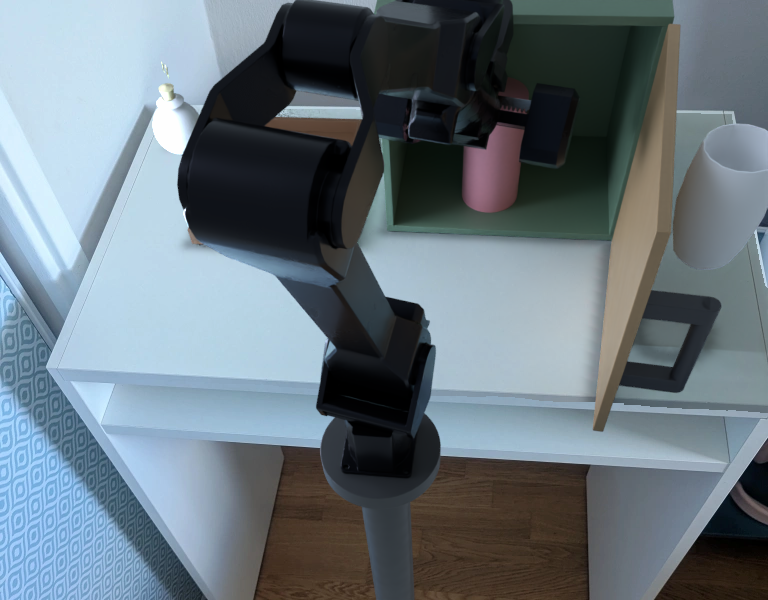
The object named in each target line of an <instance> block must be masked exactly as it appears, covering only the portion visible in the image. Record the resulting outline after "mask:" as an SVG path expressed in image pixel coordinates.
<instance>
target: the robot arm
mask: <svg viewBox="0 0 768 600" xmlns="http://www.w3.org/2000/svg"><path fill="white" fill-rule="evenodd" d="M513 34H514V30H513V4H512V2H511V1H510V0H395V1H393V2H391V3H388V4H386V5H384V6H381V7H380V8H379V9H378V10H377V11H376V15H375V14H374V11H372V9H371V7H368V6H362V5H355V4H354V5H353V4H347V3H339V2H332V1H325V0H294V1H293V2H285V3H283V4H281V6H280V7H279V9H278V11H277V12H276V14H275V16H274V19H273V21H272V23H271V25H270V28H269V31H268V34H267V35H266V38H265V40H264V42H263V43H262V44H261V45H260V46H259V47H257V48H256V49H255V50H254V51H252V52H251V53H250V54H249V55H248V56H246V57H245V58H244V59H243V60H242V61H240V62H239V63H238V64H237V65H235V67H234V68H233V69H231V70H230V71H229V72H227V74H225V75H224V76H223V77H222V78H220V80H218V81H217V82H216V83H215V84H213V86H212V87H211V88H210V90H209V92H208V93H207V96H206V98H205V100H204V103H203V106H202V108H201V110H200V113H199V117H198V119H197V122H196V124H195V126H194V129H193V131H192V133H191V136H190V138H189V140H188V143H187V145H186V147H185V150H184V152H183V154H181V158H180V161H179V165H178V169H177V170H178V171H177V181H176V186H177V193H178V200H179V203H180V205H181V207H182V210H183V212H182V213H183V216H184V219H185V222H186V225H187V227H189V229H190V230H191V232H192V233H193V235H194V236H195V238H196V239H197V240H198V241H200V242H201V243H203V244H202V245H205V246H206V247H207V248H210V249H212V250H213V251H215V252H217V253H219V254H221V255H222V256H224V257H227V258H229V259H231V260H234V261H236V262H239V263H242V264H244V265H246V266H250V267H252V268H255V269H258V270H261V271H262V272H266V273H268V274H271V275H273V276H274V277H275V278H276V279H277V280H278V281H279V282H280V284H281V285H282V286H283V287H284V288H285V289H286V290H287V292H288V293H289V295H291V297H292V298H293V299H294V301H296V302H297V304H298V305H299V306H300V308H302V310H303V311H304V312H305V313H306V314H307V315H308V317H309V318H310V320H312V321H313V323H314V324H315V325H316V326H317V328H318V329H319V330H320V331H321V332H322V333H323V334H324V336H325V337H326V339H325V340H324V346H323V347H324V348H323V354H322V362H321V372H320V380H319V381H320V382H319V385H318V386H319V387H318V393H317V398H316V403H315V410H317V412H318V413H319V414H320V415H321V416H324V417H331V418H339V419H343V420H345V425H346V432H347V433H346V439H345V444H344V450H343V455H342V461H341V466H340V467H341V471H342V473H344V474H354V475H367V476H380V477H392V478H405V479H407V478H410V477H411V476H412V470H413V462H414V455H415V447H416V439H417V431H418V428H419V425H420V422H421V420H422V417H423V415H424V413H426V409H427V407H428V405H429V402H430V400H431V396H432V388H433V381H434V372H435V365H436V364H435V363H436V358H437V357H436V356H437V347H436V345H435V344H432V335H431V332H430V331H429V329H428V328H429V326H430V323H431V321H430V320H429V319H427V317H426V313H425V309H424V308H423V307H422V305H420V304H419V303H417V302H412V301H408V300H403V299H398V298H394V297H389V296H386V295H385V293H384V291H383V289H382V287H381V285H380V284H379V281H378V279H377V278H376V276H375V274H374V272H373V270H372V267H371V266H370V264H369V262H368V261H367V258H366V257H365V254H364V253H363V250H362V248H361V246H360V245H359V243H358V242H359V240H360V238H361V236H362V232H363V231H364V228H365V225H366V222H367V219H368V216H369V215H370V212H371V210H372V209H371V208H372V205H373V203H374V201H375V197H376V194H377V192H378V190H379V186H380V183H381V181H382V178H383V177H384V160H383V155H382V144H381V140H382V139H388V140H393V141H399V142H405V143H411V144H413V143H416V142H419V141H421V140H424V141H430V142H436V143H442V144H448V145H450V144H455V145H461V146H467V147H473V148H479V149H484V150H486V148H487V144H488V139H489V135H490V134H491V133H492V132H493V130H494V129H495V127H496V125H498V126H504V127H510V128H516V129H522V130H524V134H523V138H522V143H521V148H520V156H519V162H520V163H526V164H531V165H537V166H543V167H549V168H554V169H558V168H559V167H561V166H562V165H564V164H565V161H566V157H567V153H568V149H569V145H570V141H571V137H572V133H573V129H574V125H575V121H576V117H577V113H578V109H579V105H580V97H579V95H578V93H577V92H576V90H575V89H574V88H567V87H561V86H554V85H547V84H541V83H537V84H536V86H535V89H534V91H533V95H532V100H525V99H518V98H512V97H506V96H499V95H498V94H499V92H505V88H506V83H507V79H508V76H507V73H506V71H505V69H506V64H507V53H508V50H509V46H510V43H511V40H512V38H513ZM297 92H302V93H307V94H312V95H313V94H314V95H320V96H326V97H331V98H336V99H337V98H338V99H345V100H351V101H356V102H357V101H358V105H359V109H360V114H361V119H362V121H361V123H360V126H359V129H358V131H357V134H356V137H355V139H354V142H353V145H352V146H351V144H350V143H349V142H348V141H345V140H341V139H335V138H329V137H323V136H318V135H312V134H306V133H301V132H295V131H289V130H284V129H278V128H272V127H266V126H265V125H266V124H267V123H269V122H270V121H271V120H272V119H273V118H274V117H278V115H280V114H281V113H282V112H283V110H285V109H287V107H289V106H290V105H291V103H292V102H293V101H294V99H295V96H296V95H297V94H296V93H297ZM502 106H503V109H504V110H500V109H501V108H502ZM506 107H508V111H505V109H506ZM511 107H512V111H514V110H515V108H516V111H517V112H518V111H519V109H521V113H517V112H511V111H509V110H510V109H511ZM524 109H525V113H527V112H528V110H529V112H528V114H523V113H522V112H523V111H524ZM381 138H382V139H381ZM380 139H381V140H380ZM345 467H348V469H344V468H345ZM406 471H407V472H409V473H408V474H405V473H404V472H406Z"/></svg>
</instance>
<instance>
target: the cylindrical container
mask: <svg viewBox="0 0 768 600" xmlns="http://www.w3.org/2000/svg"><path fill="white" fill-rule="evenodd" d="M498 95H499V96H506V97H512V98H518V99H525V100H528V99H529V92H528V89H527V87H526V86H525V85H524V84H523V83H521V82H520V81H518V80H516V79H514V78H510V77H508V79H507V83H506V88H505V92H499V94H498ZM500 110H504V109H503V106H502V108H501V109H500ZM505 111H508V107H506V109H505ZM509 111H511V112H517V111H516V108H515V110H514V111H512V107H511V109H510V110H509ZM517 113H521V109H519V111H518V112H517ZM522 113H523V114H527V113H525V109H524V111H523V112H522ZM523 134H524V130H522V129H516V128H510V127H504V126H498V125H496V127H495V129H494V130H493V132H492V133H491V134H490V135H489V139H488V144H487V148H486V150H484V149H479V148H473V147H467V146H464V153H463V177H462V198H463V200H464V202H465V203H466V204H467V205H468V206H469V207H470V208H472V209H474V210H477V211H480V212H486V213H493V212H499V211H502V210H505V209H507V208H509V207H510V206H511V205H512V204H513V203H514V202H515V200H516V198H517V193H518V184H519V176H520V167H521V163H520V162H519V156H520V148H521V143H522V138H523Z"/></svg>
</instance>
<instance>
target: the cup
mask: <svg viewBox="0 0 768 600" xmlns="http://www.w3.org/2000/svg"><path fill="white" fill-rule="evenodd" d="M767 210H768V130H767V129H766V128H764V127H760V126H757V125H753V124H751V123H750V124H748V123H735V122H734V123H729V124H723V125H719V126H718V127H715V128H713V129H712V130H710V131H708V132H707V134H706V135H705V136H704V138H703V139H702V141H701V143H700V145H699V147H698V148H697V151H696V152H695V154H694V155H693V159H691V162H690V164H689V166H688V167H687V170H686V172H685V175H684V177H683V180H682V183H681V185H680V187H679V190H678V193H677V195H676V198H675V205H674V212H673V217H672V251H673V253H674V254H675V256H676V258H677V259H678V260H680V262H682V263H684V264H685V265H687V266H688V267H689V268H690V269H694V270H698V271H704V270H707V271H708V270H709V271H711V270H715V269H721V268H723V267H724V266H726V265H728V264H730V263H731V261H733V259H735V258H736V257H737V255H738V254H739V253H740V252H741V251H742V250H743V249H745V246H746V245H747V243H748V242H749V240H751V238H752V236H753V235H754V234H755V232H756V231H757V229H758V227H759V226H760V224H761V222H762V221H763V219H764V218H765V215H766V213H767Z"/></svg>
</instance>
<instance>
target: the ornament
mask: <svg viewBox="0 0 768 600" xmlns="http://www.w3.org/2000/svg"><path fill="white" fill-rule="evenodd" d="M160 62H161V66H162V71H163V73H165V74H166V75H167V78H170V76H169V71H168V68H169V67H168V66H167V65H166V64H165V63H163V62H162V61H160ZM157 89H158V91H159V93H160V95H161V96H159V98H157V100H156V106H157V109H156V110H155V112H154V114H153V117H152V129H153V133H154V137H155V139H156V140H157V142H158V143H159V144H160V146H161V147H163V149H164V150H167V151H168V152H169V153H172V154H174V155H182V154H183V152H184V150H185V147H186V145H187V143H188V140H189V138H190V136H191V133H192V131H193V129H194V126H195V124H196V122H197V119H198V117H199V115H200V113H199V112H198V110H197V109H196V108H195V107H194V106H193V105H191V104H190V103H188V102H186V101H185V98H184V96H183V95H182V94H181V93H176V92H175V87H174V85H173V83H171V82H165V83H161V84H160V85H159V86H158V88H157Z"/></svg>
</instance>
